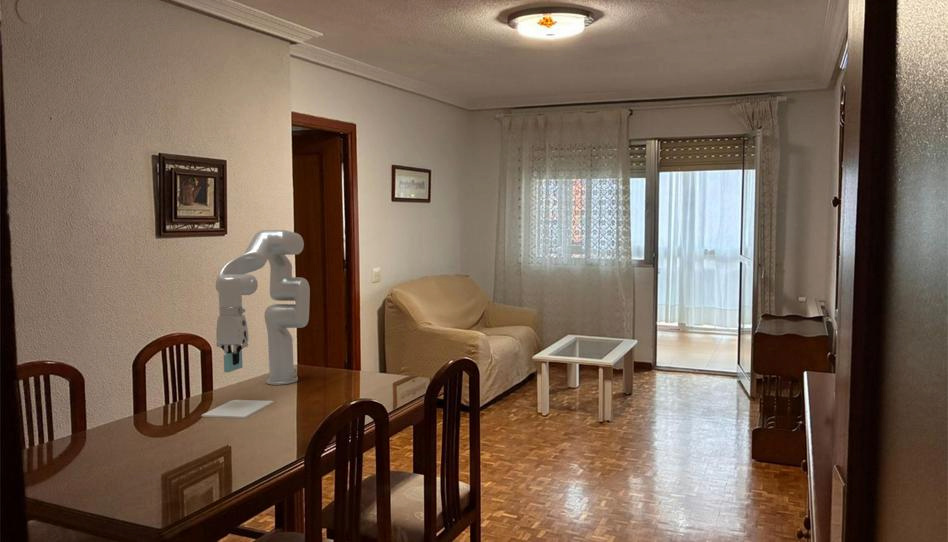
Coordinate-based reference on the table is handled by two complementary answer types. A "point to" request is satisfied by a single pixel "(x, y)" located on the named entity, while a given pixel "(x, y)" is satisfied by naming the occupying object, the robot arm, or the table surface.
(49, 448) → the table surface
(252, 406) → the mat
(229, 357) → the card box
